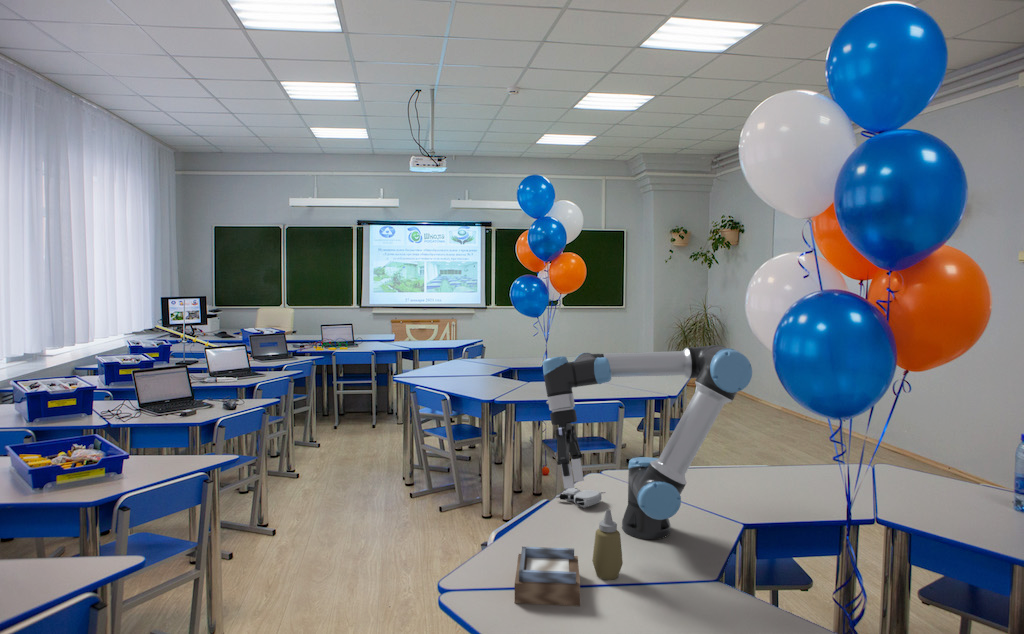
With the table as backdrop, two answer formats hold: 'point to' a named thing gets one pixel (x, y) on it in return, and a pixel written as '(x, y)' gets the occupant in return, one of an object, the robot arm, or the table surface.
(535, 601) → the dock
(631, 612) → the table surface
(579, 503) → the robot toy
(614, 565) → the squeeze bottle
